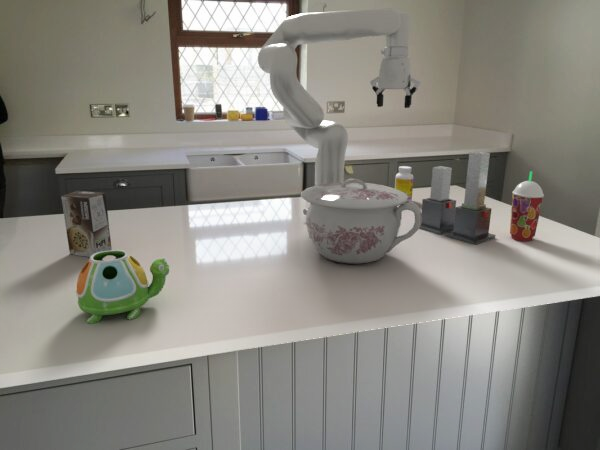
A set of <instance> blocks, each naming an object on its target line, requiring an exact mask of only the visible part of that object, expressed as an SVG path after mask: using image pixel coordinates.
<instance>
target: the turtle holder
mask: <svg viewBox="0 0 600 450" xmlns="http://www.w3.org/2000/svg"><path fill="white" fill-rule="evenodd" d="M108 256H113V257H115V258H114V259H107V260H104V258H105V257H108ZM149 271H150V273H151V275H152V280H151V283H150V284H149V280H148V279H147V275H146V272H145V270H144V268H143V267H142V265H141V263H140V262H139V261H138V260H137V259H136V258H135V257H133V256H132V255H130V254H129V253H128V252H127V251H126V250H123V249H112V250H110V251H102V252H97V253H95V254H93V255H92V256H91V257H89V260H87V262H86V263H85V264H84V266H82V268H81V270H80V273H79V275H78V278H77V282H76V289H75V294H76V296H77V299H78V300H77V304H78V307H79V309H80V310H81V311H82V312H84V313H87V314H91V315H90V317H88V318H87V319H86V321H85V322H86V323H87V324H95V323H99V322H100V321H101V320H102V318H103V316H106V315H107V316H108V315H117V314H121V313H126V312H129V313H128V314H127V316H126V319H127V320H134V319H135V320H136V318H138V317H139V315H140V313H141V307H142V306H144V305H145V304H146V303H147V302H148V301H149V300H150V299H151V298H154V297H156V296H157V295H159V293H161V292H162V291H163V288H164V286H165V285H166V284H165V283H166V276H168V275H169V272H170V266H169V264H168V262H167V260H166V259H165V258H157V259H156V260H154V261H153V262H152V263H151V265H150V268H149Z"/></svg>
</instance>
